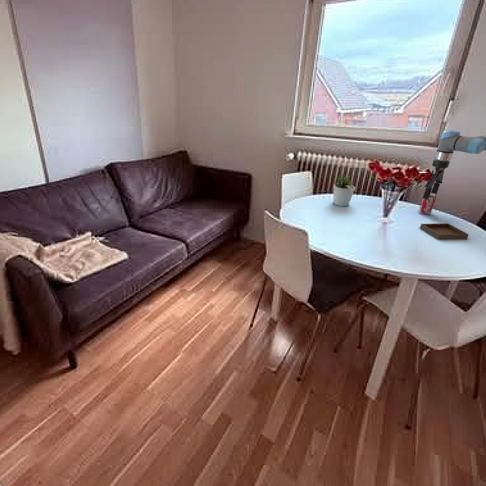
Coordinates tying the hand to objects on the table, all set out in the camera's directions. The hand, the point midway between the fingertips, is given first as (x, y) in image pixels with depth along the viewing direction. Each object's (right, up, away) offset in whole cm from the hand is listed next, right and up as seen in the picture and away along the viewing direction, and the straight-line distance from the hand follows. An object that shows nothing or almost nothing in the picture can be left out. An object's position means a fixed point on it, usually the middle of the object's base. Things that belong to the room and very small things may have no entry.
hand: (429, 196), depth 179 cm
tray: (-8, -21, -21) cm, 31 cm away
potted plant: (-45, -3, +17) cm, 48 cm away
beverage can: (0, -10, +4) cm, 11 cm away
